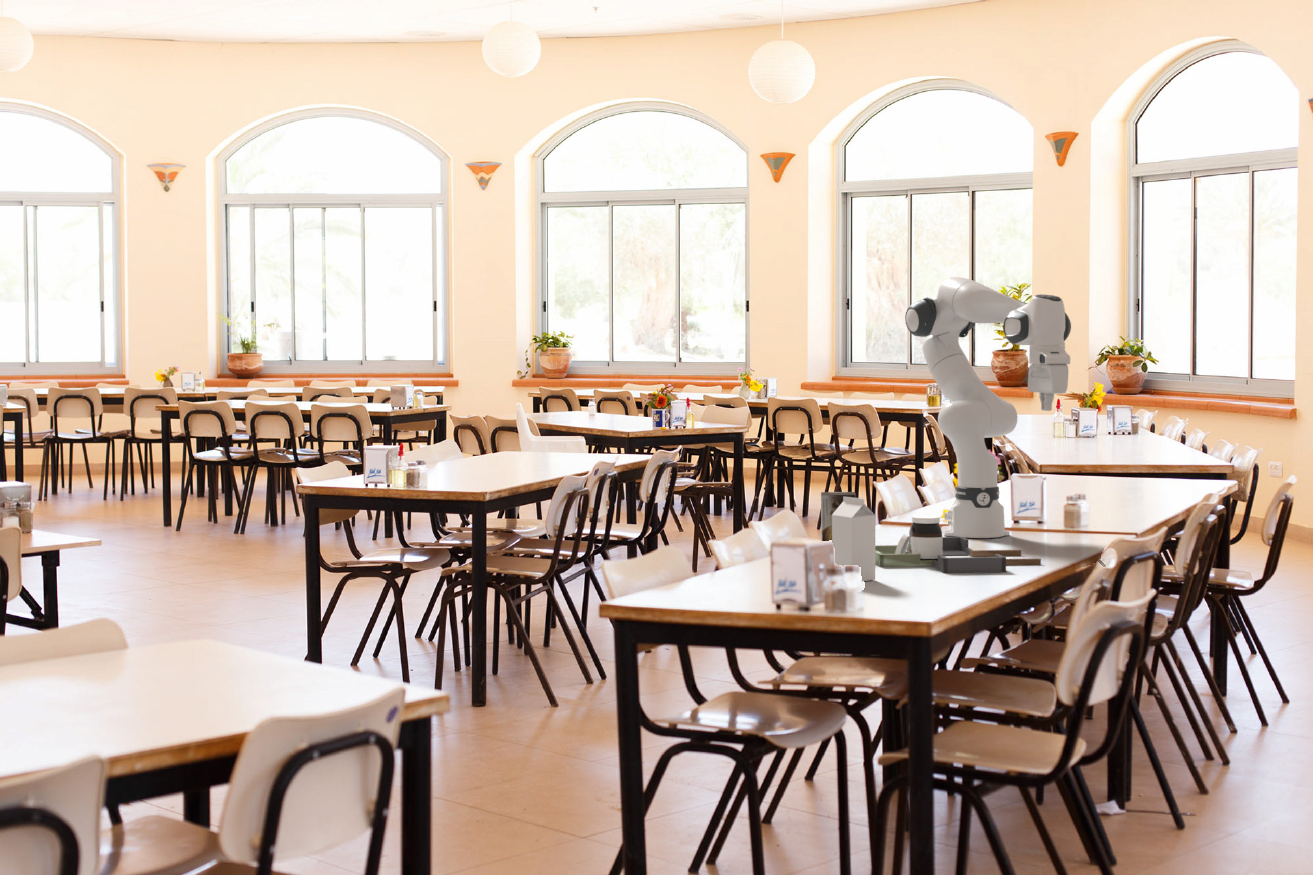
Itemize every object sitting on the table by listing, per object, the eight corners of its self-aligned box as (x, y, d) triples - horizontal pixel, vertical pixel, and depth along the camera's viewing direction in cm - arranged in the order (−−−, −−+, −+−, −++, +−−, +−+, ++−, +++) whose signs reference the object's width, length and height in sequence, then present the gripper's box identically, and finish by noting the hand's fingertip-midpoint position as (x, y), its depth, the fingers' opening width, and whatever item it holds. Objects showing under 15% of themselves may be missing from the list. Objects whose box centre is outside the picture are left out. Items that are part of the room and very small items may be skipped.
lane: (866, 557, 338) (866, 545, 338) (1019, 555, 340) (1019, 543, 340) (879, 566, 322) (879, 554, 322) (1040, 564, 324) (1040, 552, 324)
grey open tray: (906, 550, 349) (906, 537, 349) (962, 549, 350) (962, 536, 350) (916, 556, 339) (916, 542, 339) (973, 555, 340) (973, 542, 339)
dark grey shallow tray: (932, 566, 323) (932, 551, 323) (992, 565, 324) (992, 551, 323) (943, 572, 312) (943, 558, 312) (1005, 572, 313) (1006, 557, 313)
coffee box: (855, 552, 347) (855, 491, 346) (856, 556, 340) (857, 493, 339) (820, 552, 348) (820, 491, 347) (821, 555, 341) (821, 493, 340)
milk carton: (851, 583, 299) (851, 500, 298) (831, 579, 305) (831, 497, 304) (875, 580, 303) (875, 498, 302) (855, 576, 309) (855, 495, 308)
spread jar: (945, 566, 323) (946, 518, 323) (899, 566, 323) (899, 519, 322) (934, 558, 335) (934, 513, 334) (890, 559, 335) (890, 513, 334)
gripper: (1022, 357, 352) (1021, 409, 353) (1048, 357, 331) (1047, 412, 332) (1045, 357, 352) (1044, 409, 353) (1073, 357, 332) (1072, 412, 332)
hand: (1046, 410), depth 342 cm, fingers closed
